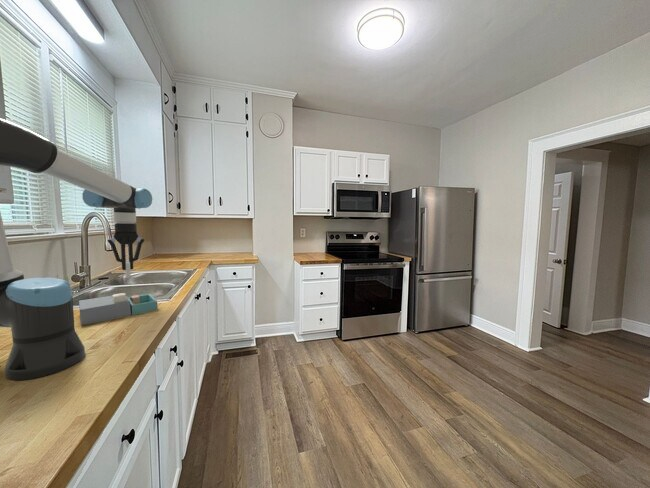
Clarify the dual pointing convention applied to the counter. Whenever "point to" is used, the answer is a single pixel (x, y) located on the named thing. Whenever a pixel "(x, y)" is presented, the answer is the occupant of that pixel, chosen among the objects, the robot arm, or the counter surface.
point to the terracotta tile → (135, 299)
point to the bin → (143, 304)
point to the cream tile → (119, 297)
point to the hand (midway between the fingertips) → (128, 277)
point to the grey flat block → (102, 309)
